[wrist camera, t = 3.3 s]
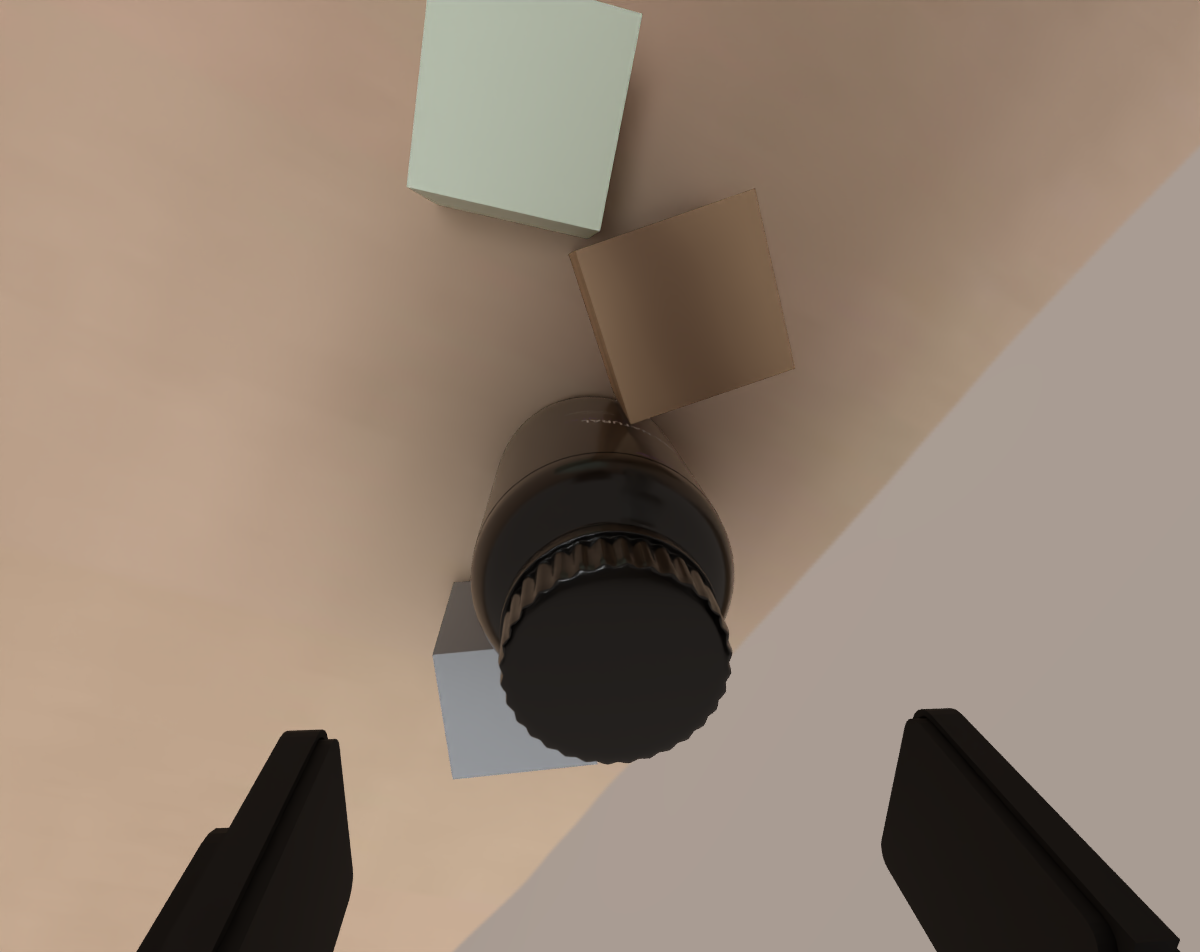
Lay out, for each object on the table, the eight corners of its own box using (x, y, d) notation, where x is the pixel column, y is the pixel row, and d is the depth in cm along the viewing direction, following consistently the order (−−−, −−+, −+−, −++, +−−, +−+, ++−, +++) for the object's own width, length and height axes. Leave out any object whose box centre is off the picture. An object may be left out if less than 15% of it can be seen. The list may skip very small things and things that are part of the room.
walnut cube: (708, 205, 21) (754, 188, 17) (743, 347, 23) (795, 368, 18) (568, 254, 22) (575, 250, 17) (613, 392, 23) (630, 424, 18)
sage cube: (619, 73, 20) (642, 13, 15) (587, 238, 21) (600, 231, 17) (459, 30, 19) (431, -46, 15) (437, 204, 21) (406, 186, 16)
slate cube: (580, 570, 25) (588, 640, 21) (588, 676, 27) (597, 763, 22) (454, 581, 25) (432, 654, 20) (469, 688, 27) (452, 779, 22)
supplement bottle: (652, 369, 23) (758, 470, 12) (692, 535, 25) (814, 757, 14) (470, 421, 23) (396, 572, 12) (525, 582, 25) (510, 842, 14)
